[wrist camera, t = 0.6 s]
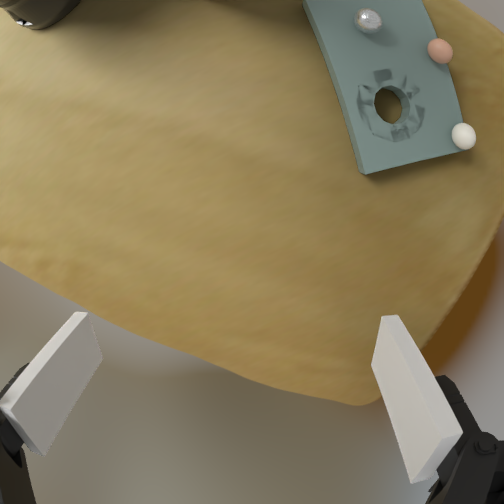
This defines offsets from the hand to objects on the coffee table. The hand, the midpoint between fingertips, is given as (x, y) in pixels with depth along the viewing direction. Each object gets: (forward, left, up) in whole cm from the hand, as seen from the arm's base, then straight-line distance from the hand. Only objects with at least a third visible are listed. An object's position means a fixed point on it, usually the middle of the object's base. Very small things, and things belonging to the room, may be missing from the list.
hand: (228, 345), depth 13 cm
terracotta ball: (-13, +27, -22) cm, 37 cm away
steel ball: (-18, +19, -22) cm, 34 cm away
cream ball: (-3, +27, -22) cm, 35 cm away
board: (-12, +21, -26) cm, 35 cm away
